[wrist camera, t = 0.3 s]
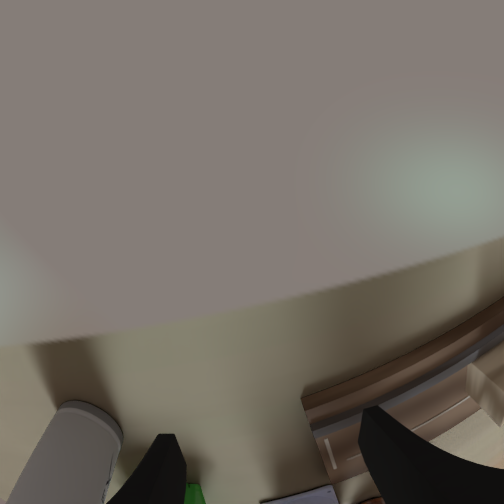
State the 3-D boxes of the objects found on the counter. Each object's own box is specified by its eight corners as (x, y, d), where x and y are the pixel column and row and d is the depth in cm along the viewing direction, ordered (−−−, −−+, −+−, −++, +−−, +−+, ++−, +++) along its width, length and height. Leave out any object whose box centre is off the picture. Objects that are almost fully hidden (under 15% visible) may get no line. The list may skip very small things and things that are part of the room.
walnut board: (501, 380, 24) (512, 390, 22) (328, 474, 24) (333, 490, 22) (512, 290, 21) (528, 298, 19) (300, 398, 21) (307, 418, 19)
